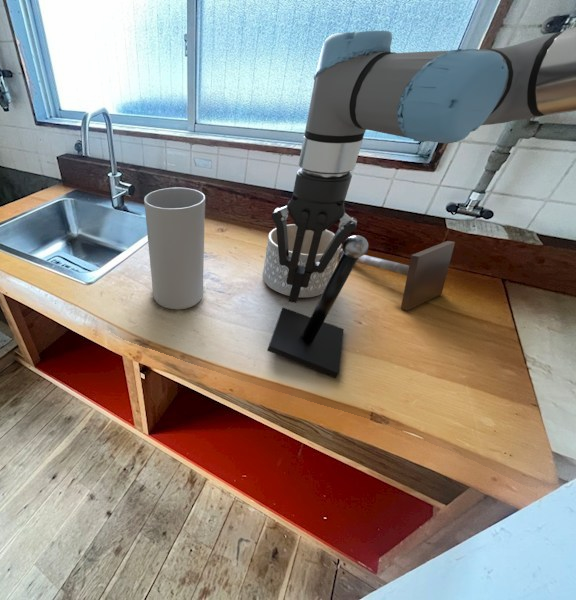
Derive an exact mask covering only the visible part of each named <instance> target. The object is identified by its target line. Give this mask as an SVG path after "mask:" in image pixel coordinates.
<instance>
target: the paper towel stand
mask: <svg viewBox="0 0 576 600" xmlns="http://www.w3.org/2000/svg"><path fill="white" fill-rule="evenodd" d="M455 244H456V241H451V240H446V241H444V242H441V243H439V244H435V245H433V246H431V247H429V248H426V249H423V250H421V251H418V252H416V253H413V254H411V256H410V261H409V265H408V264H405V263H404V264H403V263H400V262H396V261H392V260H388V259H383V258H379V257H377V256H376V257H375V256H371V255H367V254H364V255H363V256H361V257H359V258H358V260H357V262H356V263H358V264H362V265H364V266H365V265H366V266H369V267H373V268H376V269H380V270H384V271H387V272H391V273H395V274H399V275H403V276H406V279H405V285H404V290H403V296H402V300H401V305H400V309H401V310H403V311H407V312H408V311H409V310H412V309H414V308H416V307H418V306H420V305H422V304H424V303H427V302H429V301H430V300H432V299H434V298H437V297H439V296H440V295H441V296H442V294H443V291H444V287H445V284H446V279H447V275H448V271H449V268H450V263H451V259H452V255H453V252H454V248H455ZM342 254H343V250H342V247H341V249H340V252H339V256H338V259H337V260H340V258H341V256H342Z"/></svg>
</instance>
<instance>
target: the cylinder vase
mask: <svg viewBox="0 0 576 600" xmlns="http://www.w3.org/2000/svg"><path fill="white" fill-rule="evenodd" d="M143 202H144V212H145V222H146V233H147V245H148V256H149V265H150V267H149V268H150V276H151V287H152V296H153V300H154V301H155V302H156V304H158V305H159V306H161V307H163V308H166V309H169V310H185V309H189V308H192V307H195V305H197V304H198V303H199V302H200V301H201V300H202V299H203V295H204V268H205V267H204V265H205V261H204V260H205V226H206V225H205V224H206V223H205V219H206V195H205V194H204V193H203V192H202V191H200V190H198V189H194V188H188V187H166V188H161V189H157V190H154V191H151V192H149V193H147V194H146V195H145V196H144V198H143Z"/></svg>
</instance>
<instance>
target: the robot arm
mask: <svg viewBox="0 0 576 600" xmlns="http://www.w3.org/2000/svg"><path fill="white" fill-rule="evenodd" d="M392 42H393V34H392V33H391V31H389V30H362V31H352V32H351V31H350V32H347V31H346V32H336V33H332V34H330V35H329V36H328V37H327V38H326V39H325V41H324V42H323V44H322V47H321V51H320V54H319V55H320V56H319V59H318V62H317V67H316V70H315V74H313V84H312V85H313V87H312V93H311V97H310V101H309V102H310V103H309V109H308V115H307V119H306V125H305V130H304V135H303V137H302V143H301V149H300V154H299V160H298V167H300V168H299V169H298V170H297V171H296V174H295V175H296V176H295V181H294V185H293V191H292V195H291V198H290V200H288V203H287V205H285V206H282V207H275V209H274V211H273V212H272V214H271V218H272V221H273V223H274V225H275V228H276V230H277V241H278V252H279V263H280V265H282V266H286V267H288V269H289V271H288V276H287V281H286V282H287V284H290V285H292V288H291V292H290V296H288V297H289V298H288V303H293V304H297V303H298V300H299V298H300V297H299V293H300V289H301V287H304V288H307V287H308V284H309V281H310V277H311V274H312V273H314V272H318V273H322V272H324V270H325V268H326V267H327V265H328V264H329V262H330V261H331V259H332V257H333V256H334V254H335V253H336V251H337V250H338V248H339V246H340V245H341V243H342V244H343V243H344V241H345V240H346V238H347V237H349V235H350V234H352V233H353V232H354V231H356V229H357V225H358V224H357V223H358V219H357V218H356V217H351V216H350V215H349V214H347V212H346V209H347V208H346V204H345V201H346V198H347V195H348V191H349V187H350V184H351V182H352V177H353V175H352V171H353V170H354V169H355V167H356V164H357V160H358V157H359V154H360V150H361V147H362V144H363V141H364V136H365V133H366V131H372V132H376V133H382V134H387V135H392V136H397V137H400V138H406V139H410V140H413V141H414V142H417V143H418V142H419V143H426V142H431V143H441V144H455V143H457V142H460V141H462V140H464V139H466V138H467V137H468V136H469V135H470V133H472V132H475V131H477V130H479V128H480V127H481V126H488V125H495V124H496V125H497V124H505V123H510V122H513V121H520V120H528V119H534V118H541V117H544V116H551V115H558V114H564V113H572V112H576V26H574V27H570V28H567V29H564V30H562V31H558V32H554V33H550V34H546V35H543V36H540V37H537V38H533V39H530V40H527V41H523V42H520V43H516V44H513V45H510V46H505V47H497V48H495V47H494V48H480V49H479V48H478V49H476V48H475V49H474V48H467V49H461V48H458V49H451V50H433V51H432V50H431V51H430V50H429V51H410V52H395V51H394V52H393V51H391V45H392ZM289 215H290V217H291V219H292V221H293V224H295V225H296V226H297V227H298V228H297V232H296V238H295V243H294V247H293V252H292V257H289V249H288V235H287V225H288V224H287V223H288V222H287V220H288V218H289ZM337 222H338V225H337V226H338V229H337V231H336V232H335V233H334V234H335V235H334V237H333V239H332V240H331V242H330V244H329V245H328V247H327V249H326V250H325V252H324V254H323V255H322V257H321V259H320V260H319V262H315V258H316V255H317V251H318V247H319V243H320V240H321V236H322V232H323V231H325V230H328V229H329V228H330V227H332V226H333V225H334V224H335V223H337ZM306 230H311V231H313V232H314V234H313V238H312V242H311V246H310V250H309V254H308V258H307V262H306V266H300V265H298V262H299V258H300V254H301V250H302V245H303V241H304V237H305V233H306Z"/></svg>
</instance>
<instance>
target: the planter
mask: <svg viewBox="0 0 576 600" xmlns="http://www.w3.org/2000/svg"><path fill="white" fill-rule="evenodd" d="M297 228H298V227H297V226H296V225H295V223H290V224H287V235H288V249H289V257H292V252H293V247H294V243H295V238H296V232H297ZM313 234H314V232H313V231H311V230H306V233H305V237H304V241H303V245H302V250H301V254H300V258H299V262H298V265H300V266H306V262H307V258H308V254H309V250H310V246H311V242H312V238H313ZM335 234H336V233H334V232H333V231H331V230H328V229H327V230H325V231H323V232H322V236H321V240H320V243H319V247H318V251H317V255H316V258H315V262H319V260H320V259H321V257H322V255H323V254H324V252H325V250H326V249H327V247H328V245H329V244H330V242H331V240H332V239H333V237H334V235H335ZM342 246H343V242H342V243H341V245H340V246H339V248H338V250H337V251H336V253H335V254H334V256H333V257H332V259H331V261H330V262H329V264H328V265H327V267H326V268H325V270H324V272H322V273H318V272H314V273H312V274H311V277H310V281H309V284H308V287H307V288H304V287H301V289H300V293H299V297H298V298H313V297H318V296H320V295H322V294H323V292H324V290H325V288H326V286H327V284H328V282H329V280H330V278H331V276H332V274H333V272H334V270H335V268H336V266H337V263H338V262H337V261H338V260H339V259H338V256H339V252H340V249H341V248H342ZM288 271H289V269H288V267H286V266H282V265H280V263H279V252H278V241H277V230H276V227H275V228H273V229H271V230H270V231H269V233H268V237H267V244H266V249H265V255H264V263H263V268H262V281H263V282H264V283H265V285H267V286H268V287H269V288H270V289H271V290H273V291H275V292H277V293H279V294H281V295H283V296H287V297H289V296H290V292H291V288H292V285H290V284H287V282H286V281H287V276H288Z"/></svg>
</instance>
